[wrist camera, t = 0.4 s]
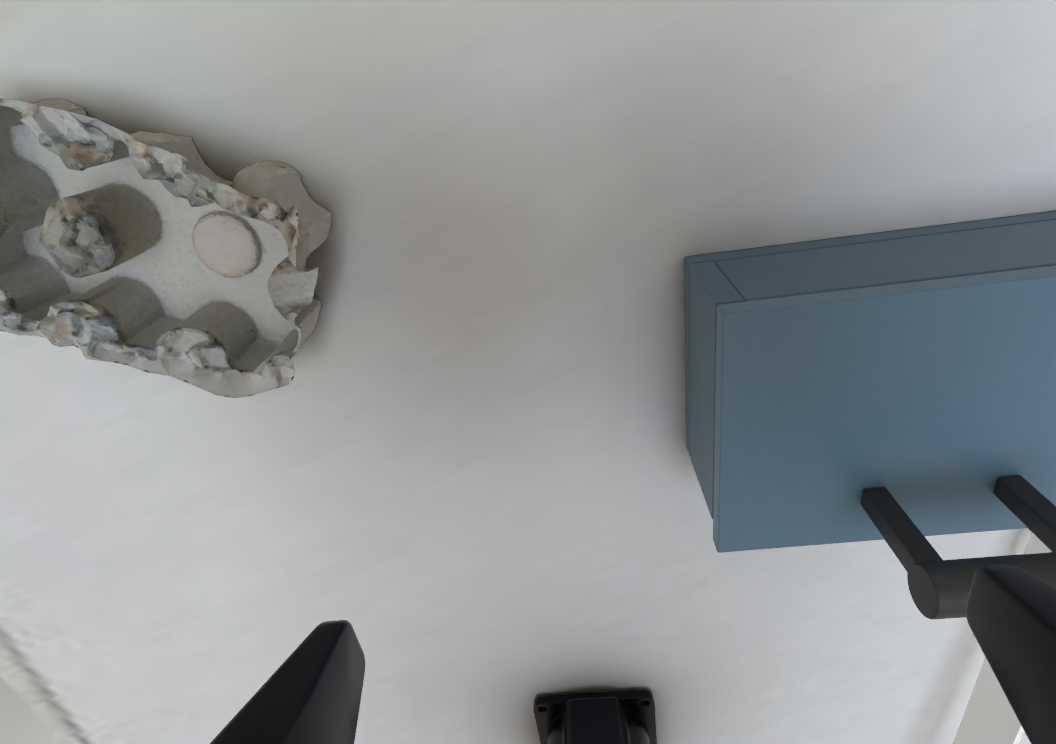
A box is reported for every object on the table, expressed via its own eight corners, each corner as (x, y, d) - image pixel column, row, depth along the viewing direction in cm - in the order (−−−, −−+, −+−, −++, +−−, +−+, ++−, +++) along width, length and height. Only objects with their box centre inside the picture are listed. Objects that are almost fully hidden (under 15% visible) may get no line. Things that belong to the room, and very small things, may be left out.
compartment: (1039, 412, 23) (1137, 484, 19) (686, 446, 24) (712, 520, 20) (1108, 203, 19) (1247, 241, 15) (684, 256, 20) (715, 303, 16)
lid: (1130, 504, 19) (1305, 639, 15) (712, 538, 21) (759, 673, 16) (1250, 242, 15) (1544, 321, 11) (716, 303, 16) (780, 399, 12)
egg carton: (351, 179, 19) (308, 208, 16) (315, 368, 23) (273, 428, 19) (4, 60, 18) (-131, 62, 14) (22, 282, 21) (-83, 329, 18)
